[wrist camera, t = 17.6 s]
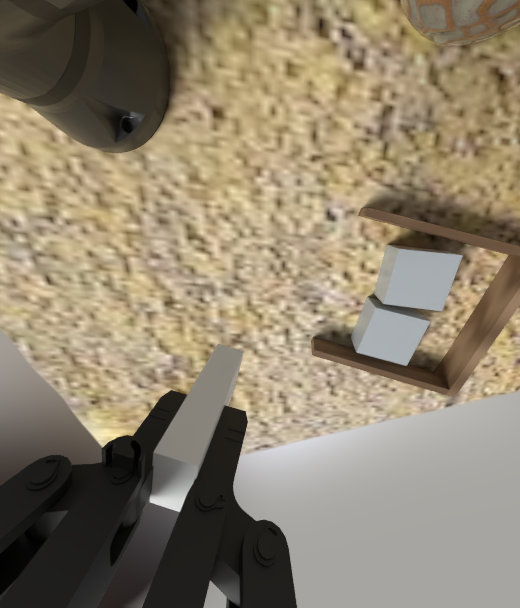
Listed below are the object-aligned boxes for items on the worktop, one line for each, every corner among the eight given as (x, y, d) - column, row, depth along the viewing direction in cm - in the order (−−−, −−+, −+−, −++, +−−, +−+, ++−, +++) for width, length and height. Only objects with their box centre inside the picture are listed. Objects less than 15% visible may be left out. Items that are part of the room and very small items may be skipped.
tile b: (366, 296, 31) (375, 307, 27) (414, 308, 30) (430, 321, 27) (350, 336, 33) (356, 352, 29) (394, 348, 33) (406, 365, 29)
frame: (360, 208, 27) (369, 207, 24) (523, 250, 26) (554, 255, 23) (311, 341, 34) (312, 355, 31) (439, 379, 33) (454, 397, 30)
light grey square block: (386, 244, 28) (398, 248, 25) (441, 249, 28) (462, 255, 24) (373, 293, 30) (383, 303, 27) (424, 299, 30) (441, 311, 26)
